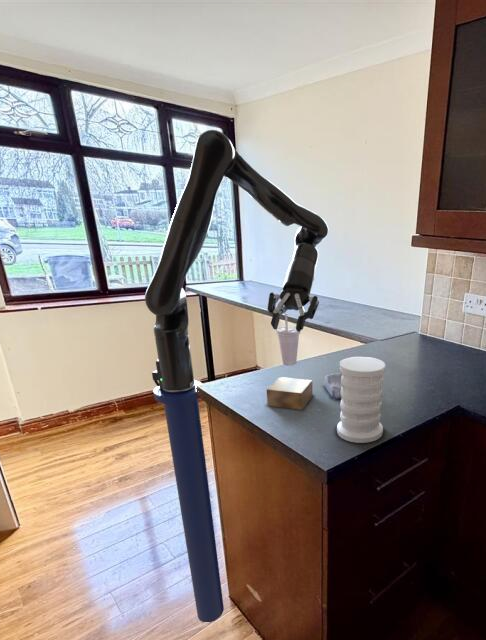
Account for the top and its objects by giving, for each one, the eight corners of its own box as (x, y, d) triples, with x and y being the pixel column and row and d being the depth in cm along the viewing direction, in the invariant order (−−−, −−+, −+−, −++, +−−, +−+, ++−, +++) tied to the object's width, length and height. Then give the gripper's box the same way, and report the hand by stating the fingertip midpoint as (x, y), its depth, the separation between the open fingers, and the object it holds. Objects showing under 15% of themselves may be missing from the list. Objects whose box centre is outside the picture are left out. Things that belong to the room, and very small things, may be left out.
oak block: (267, 405, 113) (266, 389, 111) (280, 392, 122) (280, 376, 121) (301, 409, 112) (301, 393, 110) (312, 395, 121) (312, 380, 119)
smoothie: (273, 363, 112) (270, 313, 107) (290, 358, 117) (288, 310, 112) (288, 368, 109) (286, 317, 104) (306, 363, 114) (304, 313, 108)
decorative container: (327, 428, 102) (328, 361, 96) (363, 416, 109) (365, 353, 103) (356, 448, 94) (358, 375, 88) (392, 433, 101) (397, 366, 95)
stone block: (350, 387, 133) (320, 384, 128) (353, 374, 131) (324, 370, 127) (361, 403, 122) (330, 400, 118) (365, 389, 121) (334, 386, 117)
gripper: (271, 267, 112) (255, 319, 105) (321, 270, 109) (308, 323, 103) (279, 284, 118) (265, 333, 112) (327, 287, 116) (315, 338, 110)
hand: (286, 328), depth 108 cm, fingers closed on smoothie, 6 cm apart
